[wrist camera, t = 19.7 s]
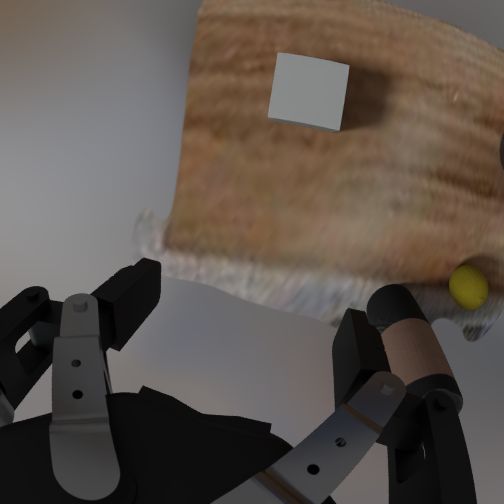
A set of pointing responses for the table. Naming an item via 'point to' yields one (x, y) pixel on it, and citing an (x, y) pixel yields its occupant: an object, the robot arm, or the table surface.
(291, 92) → the matte gray cube
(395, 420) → the robot arm
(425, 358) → the travel mug
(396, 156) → the table surface
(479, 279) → the lemon
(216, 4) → the table surface
